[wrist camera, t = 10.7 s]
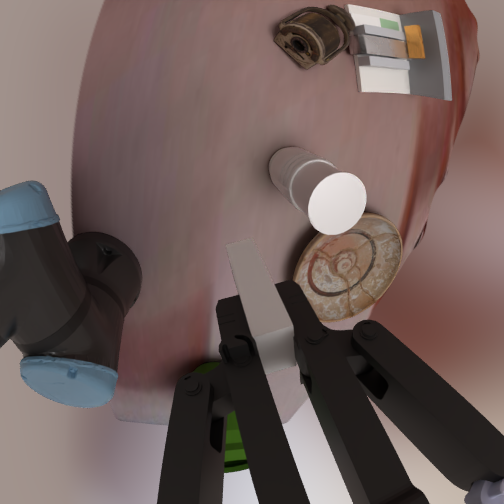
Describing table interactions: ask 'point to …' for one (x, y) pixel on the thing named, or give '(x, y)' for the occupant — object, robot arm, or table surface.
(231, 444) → the vase
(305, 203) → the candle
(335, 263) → the ceramic bowl
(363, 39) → the grey metal bar
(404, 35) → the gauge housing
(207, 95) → the table surface
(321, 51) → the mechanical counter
